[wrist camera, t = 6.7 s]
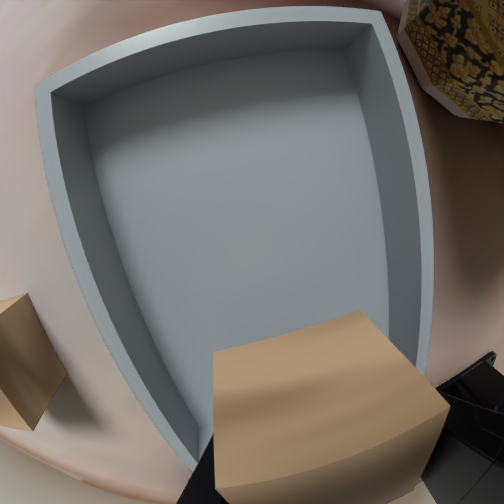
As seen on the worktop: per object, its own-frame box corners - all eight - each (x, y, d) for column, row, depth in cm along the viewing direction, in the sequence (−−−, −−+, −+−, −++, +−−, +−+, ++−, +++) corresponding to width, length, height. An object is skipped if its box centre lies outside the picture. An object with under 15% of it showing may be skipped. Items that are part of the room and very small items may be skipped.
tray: (391, 370, 13) (418, 403, 10) (192, 427, 13) (190, 471, 10) (345, 42, 9) (380, 11, 6) (75, 102, 8) (34, 85, 5)
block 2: (362, 405, 9) (412, 490, 5) (250, 439, 9) (267, 539, 5) (359, 309, 8) (450, 406, 4) (213, 352, 8) (215, 488, 4)
